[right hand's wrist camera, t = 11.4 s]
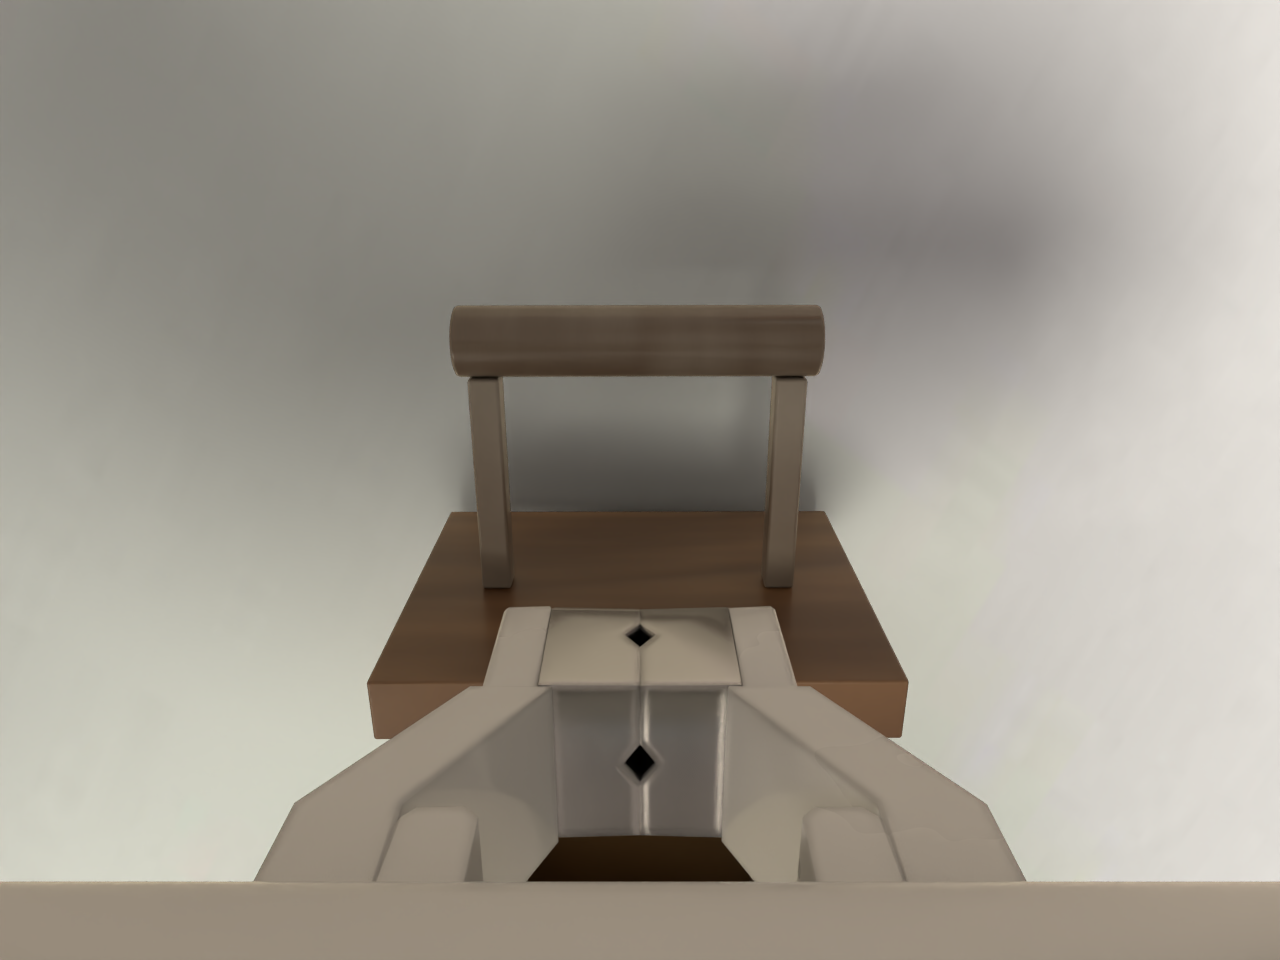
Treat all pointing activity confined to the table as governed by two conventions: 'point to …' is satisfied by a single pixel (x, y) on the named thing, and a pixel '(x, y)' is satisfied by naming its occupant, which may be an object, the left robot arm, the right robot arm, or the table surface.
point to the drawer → (637, 542)
